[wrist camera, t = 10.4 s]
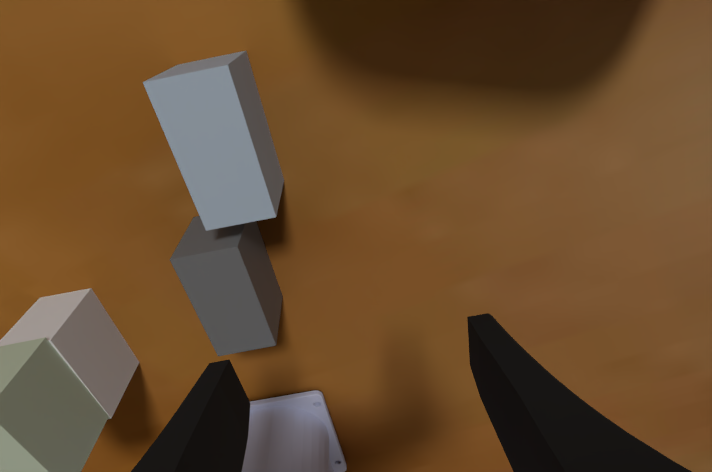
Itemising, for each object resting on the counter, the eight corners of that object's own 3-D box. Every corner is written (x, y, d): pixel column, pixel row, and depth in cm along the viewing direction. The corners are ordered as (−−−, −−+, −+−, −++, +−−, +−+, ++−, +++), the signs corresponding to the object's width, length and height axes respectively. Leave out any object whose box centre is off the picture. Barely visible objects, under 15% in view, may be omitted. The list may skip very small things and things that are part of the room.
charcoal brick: (282, 295, 24) (276, 345, 21) (232, 304, 24) (218, 356, 21) (251, 205, 21) (237, 246, 18) (194, 216, 21) (169, 259, 18)
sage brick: (108, 416, 23) (70, 492, 19) (56, 426, 23) (8, 503, 19) (45, 337, 20) (-15, 411, 16) (-15, 349, 20) (-87, 425, 16)
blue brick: (284, 179, 21) (276, 217, 17) (225, 190, 21) (206, 230, 17) (246, 50, 18) (227, 64, 14) (178, 64, 18) (142, 82, 14)
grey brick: (139, 362, 26) (111, 418, 23) (93, 370, 26) (58, 428, 23) (91, 287, 23) (50, 339, 20) (39, 297, 23) (-10, 351, 20)
